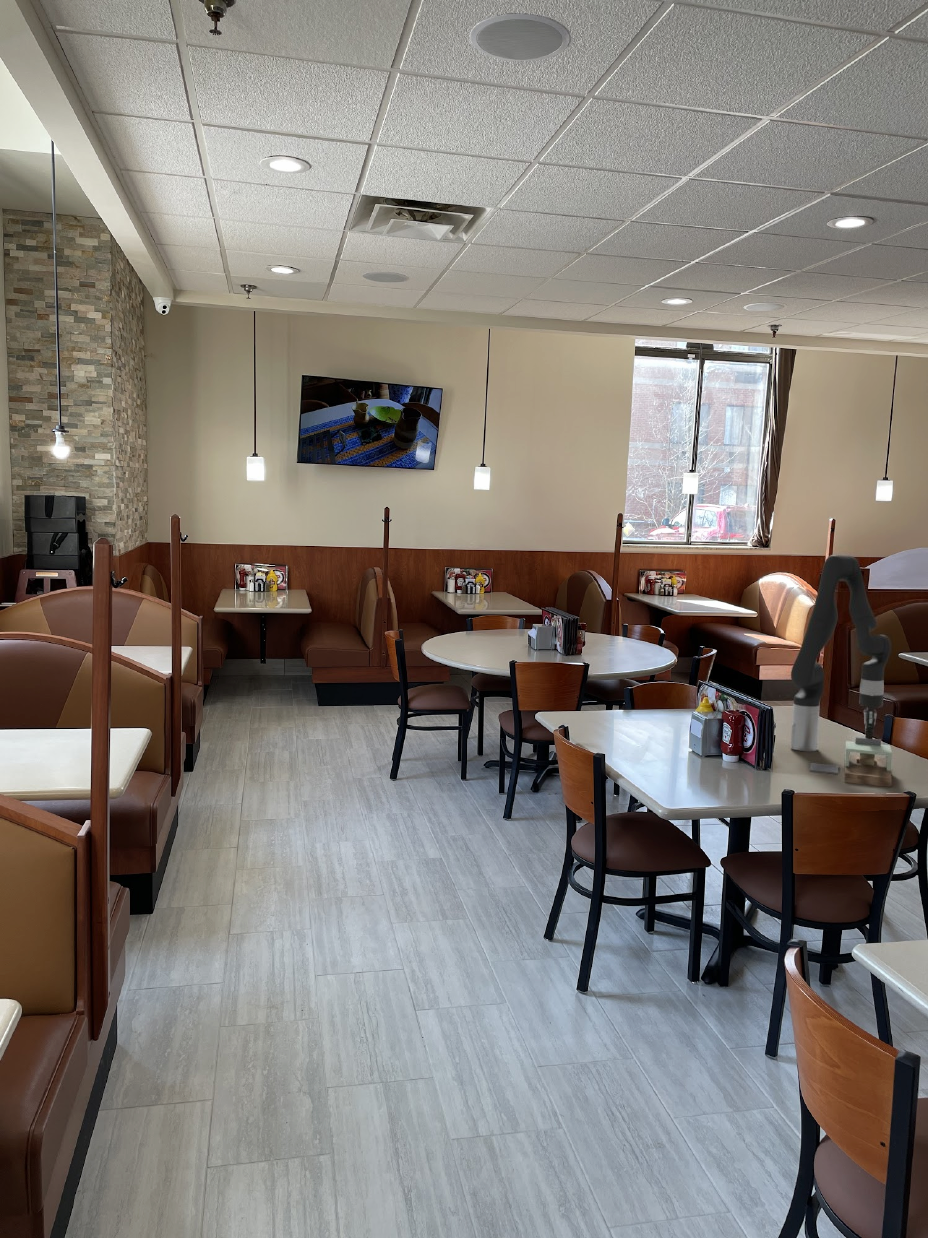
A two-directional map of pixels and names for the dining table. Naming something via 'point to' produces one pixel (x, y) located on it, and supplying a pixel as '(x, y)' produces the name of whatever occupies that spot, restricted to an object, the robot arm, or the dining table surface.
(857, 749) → the pale green toy table
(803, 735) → the robot arm
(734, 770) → the dining table surface
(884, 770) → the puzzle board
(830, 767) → the rubber mat
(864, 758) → the birch block
